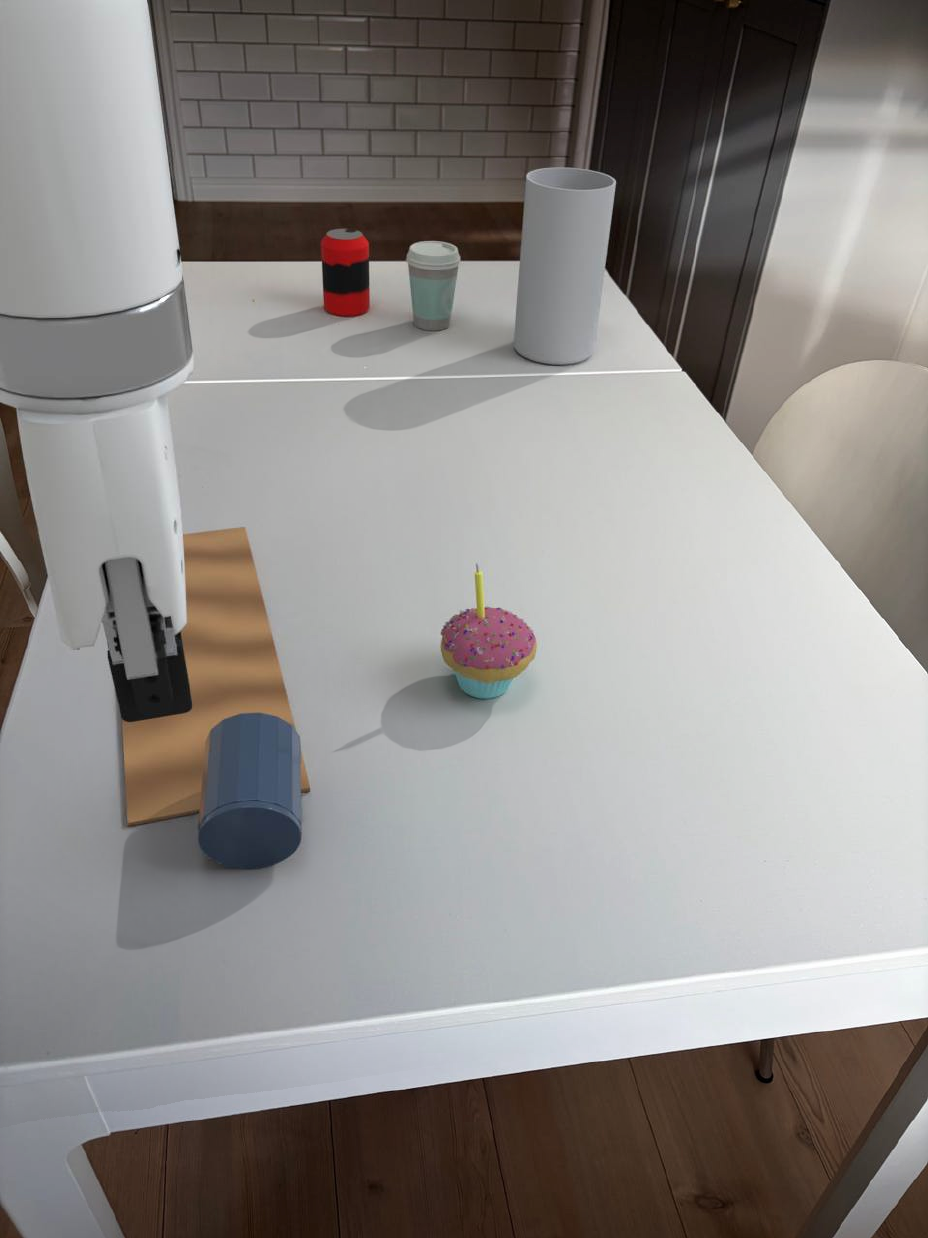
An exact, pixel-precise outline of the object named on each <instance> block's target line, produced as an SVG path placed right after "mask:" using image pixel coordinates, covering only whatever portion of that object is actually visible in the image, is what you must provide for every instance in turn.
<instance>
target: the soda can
mask: <svg viewBox="0 0 928 1238" xmlns="http://www.w3.org/2000/svg"><path fill="white" fill-rule="evenodd" d="M320 251H321V253H320V254H321V273H322V274H321V275H322V296H323V297H322V298H323V300H322V301H323V308H324V310H325V311H326V312H327V313H328V314H330V315H333V316H338V317H356V316H361V315H363V314H366V313H367V312H368V311H369V310H370V308H371V300H370V299H371V298H370V296H371V295H370V290H371V289H370V243H369V241H368V240H367V238H366V237H365V235H364V234H363V232H361V231H360V230H357V229H354V228H353V229H351V228H336V229H331V230H329V231H327V232H326V234H325V236H324V237H323V238H322V239H321V241H320Z"/></svg>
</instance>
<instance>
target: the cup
mask: <svg viewBox="0 0 928 1238" xmlns="http://www.w3.org/2000/svg"><path fill="white" fill-rule="evenodd" d="M295 729H296V728H295ZM295 729H294V727H293V726H292V725H291V724H290V723H288V722H286V721H285V720H283V719H281V718H279V717H277V716H273V715H269V714H264V713H241V714H237V715H235V716H232V717H229V718H226V719H224V720H222V721H221V722H219V723H218V724H217V725H216V726H214V727H213V728H212V729H211V730H210V733H209V735H208V737H207V739H206V742H205V754H204V765H203V777H202V789H201V800H200V812H199V813H198V823H197V824H198V825H197V832H198V835H197V840H198V846H199V848H200V850H201V851H202V852H203V854H204V855H205V856H206V857H207V858H209V859H210V860H212V861H213V862H216V863H218V864H220V865H222V866H226V867H229V868H234V869H240V870H241V869H244V870H251V869H252V870H253V869H262V868H267V867H271V866H274V865H276V864H280V863H281V862H283V861H286V860H287V859H288V858H290V857H291V856H292V855H293V854H294V853H295V852H296V851H297V850H298V849H299V846H300V844H301V842H302V834H303V829H302V828H303V826H302V825H303V824H302V823H303V822H302V821H303V820H302V819H303V818H302V817H303V816H302V793H301V753H302V745H301V735H300V733H298V731H297V729H296V730H295Z"/></svg>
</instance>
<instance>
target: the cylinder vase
mask: <svg viewBox="0 0 928 1238" xmlns="http://www.w3.org/2000/svg"><path fill="white" fill-rule="evenodd" d="M616 185H617V181H616V179H615V178H614V177H612V176H611V175H609V174H606V173H603V172H599V171H595V170H591V169H585V168H579V167H578V168H577V167H545V168H538V169H534V170H530V171H529V172H528V173H527V174H526V176H525V190H524V201H523V216H522V229H521V242H520V243H521V244H520V255H519V269H518V279H517V280H518V281H517V293H516V304H515V305H516V307H515V318H514V319H515V321H514V330H513V332H514V334H513V347H514V349H515V350H516V352H517V353H518V354H519V355H521V357H523V358H526V359H527V360H530V361H532V362H537V363H540V364H546V365H554V366H555V365H556V366H564V365H573V364H578V363H581V362H584V361H586V360H588V359H589V358H590V357H591V356H592V355H593V354H594V352H595V349H596V342H597V341H596V340H597V335H598V334H597V333H598V327H599V317H600V310H601V301H602V294H603V286H604V279H605V271H606V262H607V256H608V250H609V249H608V248H609V240H610V233H611V225H612V218H613V217H612V216H613V209H614V202H615V193H616Z"/></svg>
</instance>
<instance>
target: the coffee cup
mask: <svg viewBox="0 0 928 1238" xmlns="http://www.w3.org/2000/svg"><path fill="white" fill-rule="evenodd" d="M405 262H406V263H407V268H408V280H409V288H410V299H411V309H412V317H413V324H414V326H415V327H416V328H418V329H421V330H424V331H431V332H432V331H436V332H437V331H442V330H446V329H448V328H449V327H450V325H451V319H452V313H453V306H454V300H455V294H456V293H455V291H456V287H457V281H458V280H457V279H458V272H459V266H460V265H461V264H462V261H461V255H460V253H459V248H458V247H457V246H456V245H454V244H452V243H449V242H445V241H438V240H424V241H418V242H415V243H412V244H411V245H410V246H409V249H408V252H407V253H406V259H405Z"/></svg>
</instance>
